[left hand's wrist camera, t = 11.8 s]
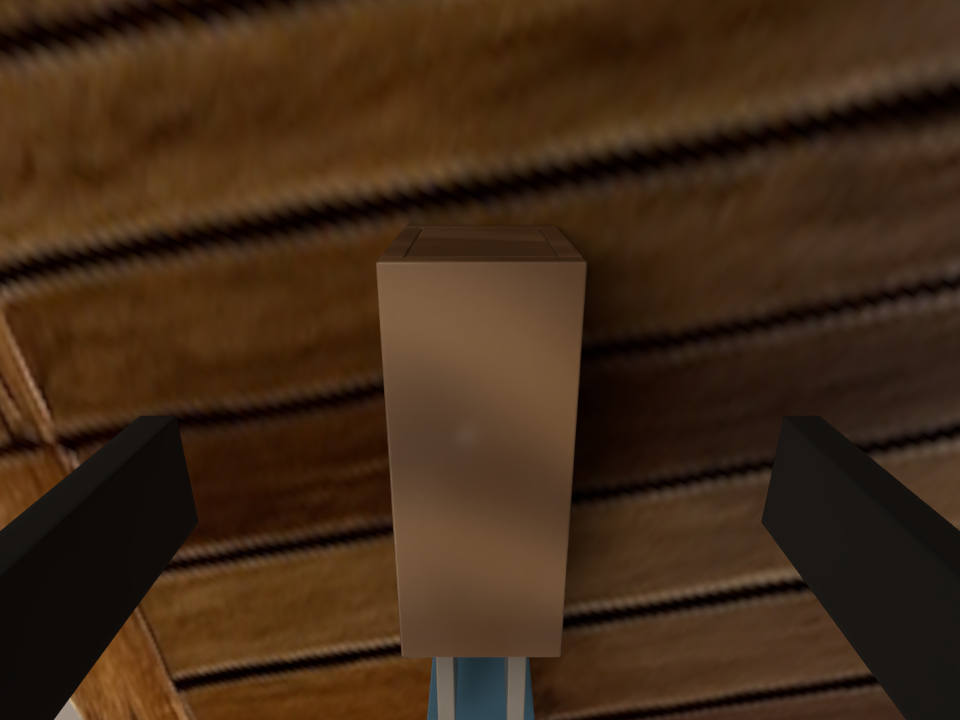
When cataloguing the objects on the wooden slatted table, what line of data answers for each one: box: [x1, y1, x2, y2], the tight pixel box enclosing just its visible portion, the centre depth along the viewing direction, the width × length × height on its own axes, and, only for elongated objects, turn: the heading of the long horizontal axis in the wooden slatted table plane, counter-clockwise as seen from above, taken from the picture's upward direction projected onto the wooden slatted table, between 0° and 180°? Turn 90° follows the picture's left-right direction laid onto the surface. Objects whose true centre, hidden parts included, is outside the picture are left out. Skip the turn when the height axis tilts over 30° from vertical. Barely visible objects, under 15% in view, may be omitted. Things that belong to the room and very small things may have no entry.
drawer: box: [427, 657, 535, 720], centre depth 29 cm, size 21×5×6 cm, turn 0°
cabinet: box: [376, 225, 587, 657], centre depth 25 cm, size 16×7×8 cm, turn 0°
